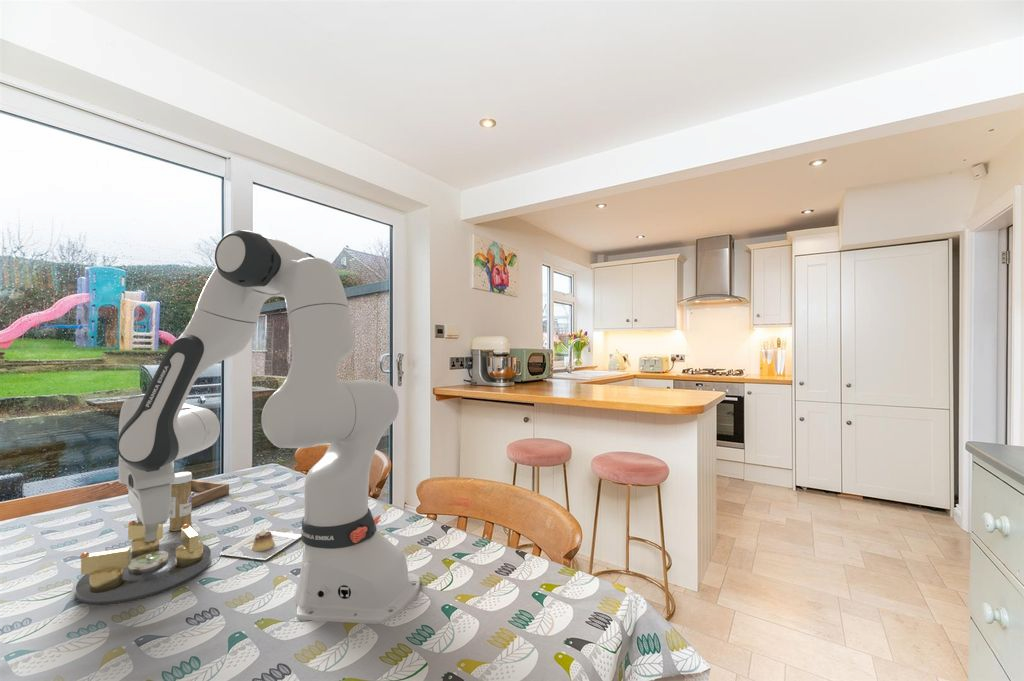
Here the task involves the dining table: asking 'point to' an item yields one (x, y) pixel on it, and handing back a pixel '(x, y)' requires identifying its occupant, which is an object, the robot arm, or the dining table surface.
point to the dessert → (261, 542)
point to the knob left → (105, 568)
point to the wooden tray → (207, 491)
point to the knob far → (142, 539)
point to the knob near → (189, 548)
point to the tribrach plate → (146, 577)
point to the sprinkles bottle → (180, 501)
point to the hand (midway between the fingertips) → (146, 534)
